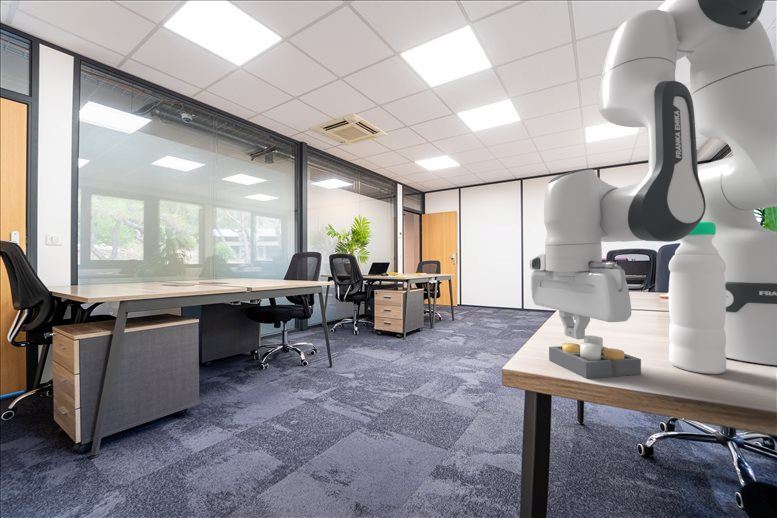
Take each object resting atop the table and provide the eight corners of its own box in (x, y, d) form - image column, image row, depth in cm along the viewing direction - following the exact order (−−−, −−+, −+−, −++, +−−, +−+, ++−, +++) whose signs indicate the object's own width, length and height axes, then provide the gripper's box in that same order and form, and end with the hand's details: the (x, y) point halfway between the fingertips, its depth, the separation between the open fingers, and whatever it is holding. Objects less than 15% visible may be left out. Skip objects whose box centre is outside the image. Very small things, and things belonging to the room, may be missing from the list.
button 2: (591, 358, 54) (591, 342, 54) (605, 363, 51) (605, 347, 51) (576, 359, 54) (576, 343, 54) (589, 364, 51) (589, 348, 51)
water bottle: (700, 361, 57) (699, 224, 57) (739, 376, 50) (739, 219, 50) (658, 360, 58) (658, 225, 58) (691, 374, 51) (691, 220, 51)
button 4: (614, 363, 55) (613, 347, 55) (629, 369, 52) (628, 352, 52) (599, 364, 55) (599, 348, 55) (613, 370, 52) (613, 353, 52)
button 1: (572, 356, 59) (572, 342, 59) (584, 361, 56) (584, 346, 56) (558, 357, 58) (558, 343, 58) (570, 362, 55) (569, 347, 55)
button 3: (594, 349, 59) (593, 335, 59) (606, 354, 56) (606, 339, 56) (580, 350, 59) (580, 335, 59) (592, 354, 56) (592, 339, 56)
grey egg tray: (596, 357, 60) (596, 344, 60) (641, 374, 51) (640, 359, 51) (549, 360, 59) (549, 346, 59) (586, 378, 50) (586, 362, 50)
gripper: (641, 260, 47) (644, 353, 47) (551, 260, 67) (553, 324, 67) (604, 262, 46) (607, 356, 46) (524, 261, 66) (526, 326, 67)
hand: (574, 337), depth 57 cm, fingers closed
